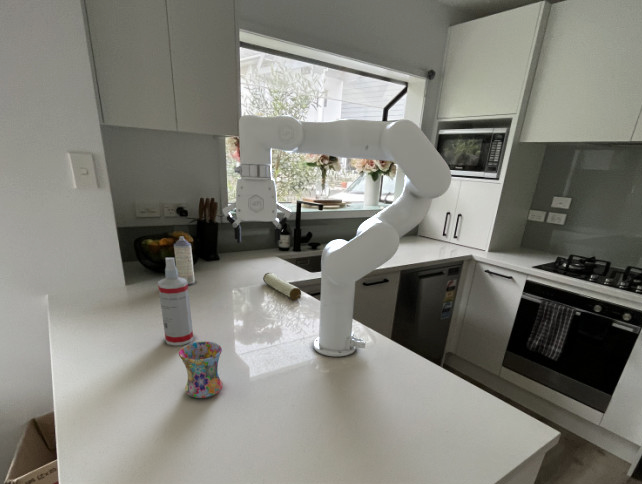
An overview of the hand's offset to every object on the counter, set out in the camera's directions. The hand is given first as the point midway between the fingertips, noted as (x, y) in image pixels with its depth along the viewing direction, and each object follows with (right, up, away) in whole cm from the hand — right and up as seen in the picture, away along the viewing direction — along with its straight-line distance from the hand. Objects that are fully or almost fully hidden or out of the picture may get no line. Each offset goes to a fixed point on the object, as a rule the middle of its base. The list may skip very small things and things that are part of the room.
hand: (257, 242), depth 99 cm
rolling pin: (0, -8, +60) cm, 60 cm away
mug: (-12, -37, -9) cm, 40 cm away
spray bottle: (-26, -26, +14) cm, 40 cm away
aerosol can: (-42, -4, +66) cm, 78 cm away
